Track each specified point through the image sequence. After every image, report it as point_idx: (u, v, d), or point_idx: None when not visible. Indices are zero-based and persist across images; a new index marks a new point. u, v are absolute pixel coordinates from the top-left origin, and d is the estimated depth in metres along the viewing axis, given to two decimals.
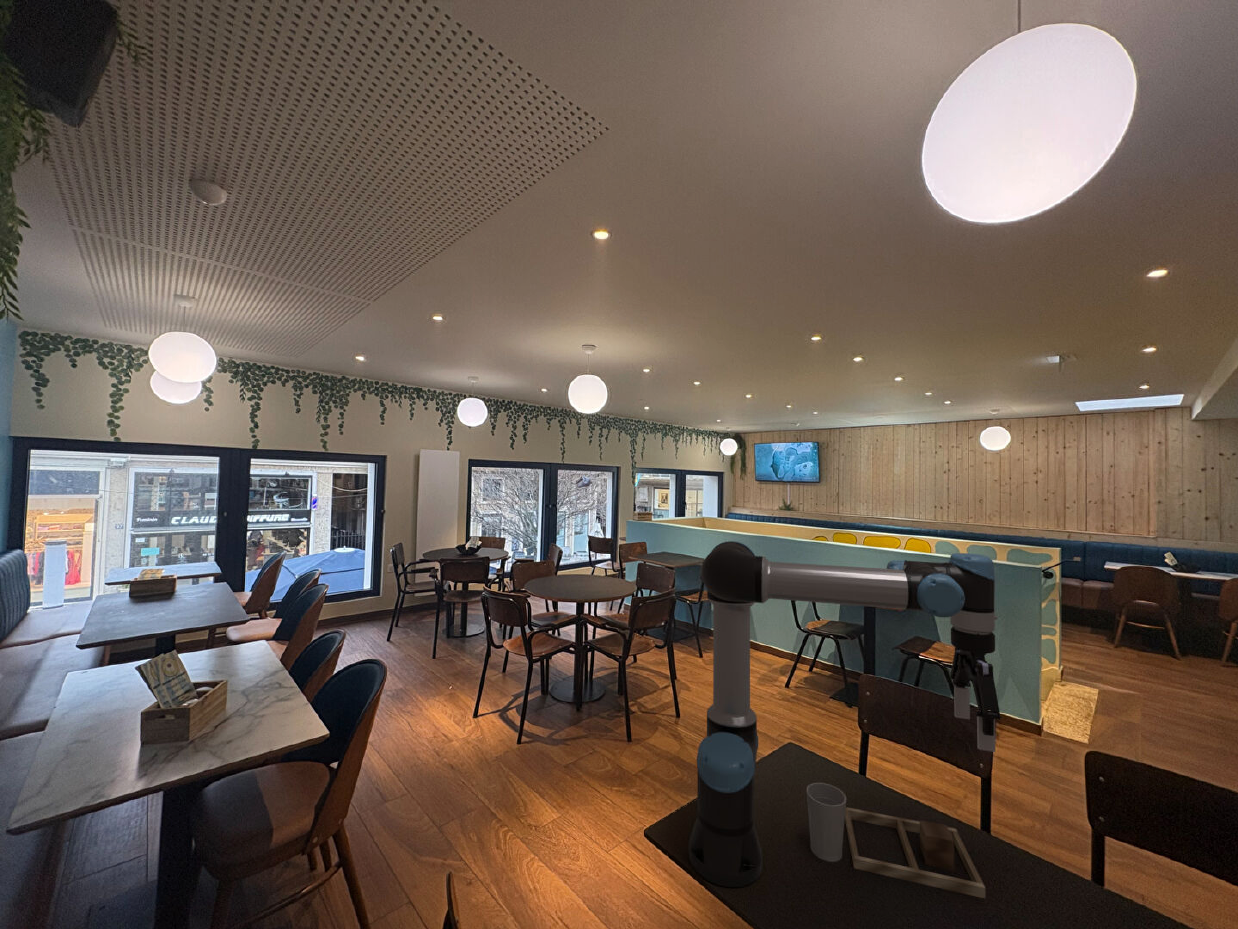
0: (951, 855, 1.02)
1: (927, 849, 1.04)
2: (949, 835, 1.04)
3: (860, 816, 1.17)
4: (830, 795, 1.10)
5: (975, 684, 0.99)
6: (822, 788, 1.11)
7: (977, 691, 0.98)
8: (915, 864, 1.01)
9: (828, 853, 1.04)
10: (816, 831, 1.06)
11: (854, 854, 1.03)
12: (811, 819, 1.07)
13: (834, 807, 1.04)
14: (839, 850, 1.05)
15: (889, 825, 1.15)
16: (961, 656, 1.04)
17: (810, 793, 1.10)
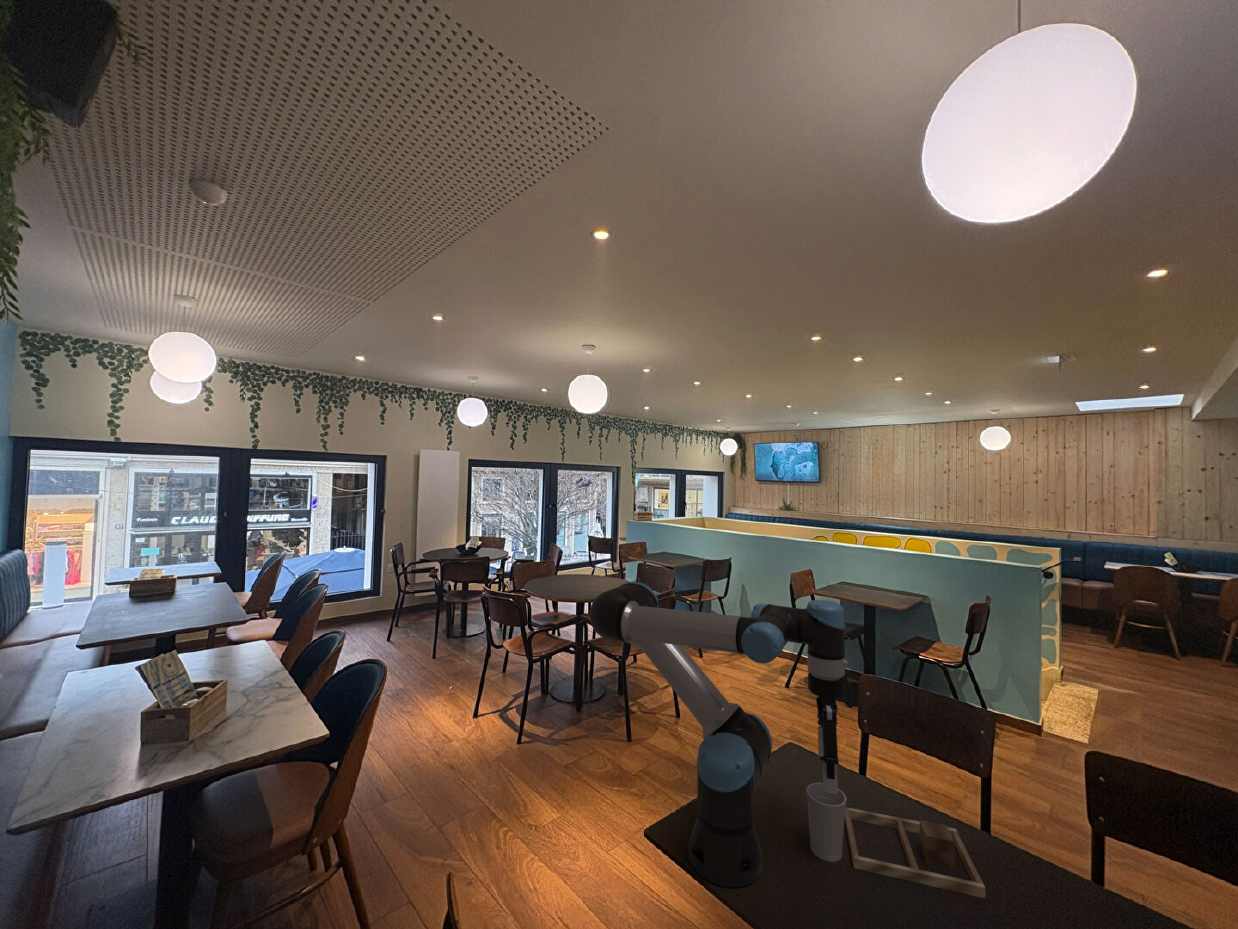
0: (951, 855, 1.02)
1: (927, 849, 1.04)
2: (949, 835, 1.04)
3: (860, 816, 1.17)
4: (830, 795, 1.10)
5: None
6: (822, 788, 1.11)
7: (823, 735, 1.03)
8: (915, 864, 1.01)
9: (828, 853, 1.04)
10: (816, 831, 1.06)
11: (854, 854, 1.03)
12: (811, 819, 1.07)
13: (834, 807, 1.04)
14: (839, 850, 1.05)
15: (889, 825, 1.15)
16: (817, 699, 1.09)
17: (810, 793, 1.10)
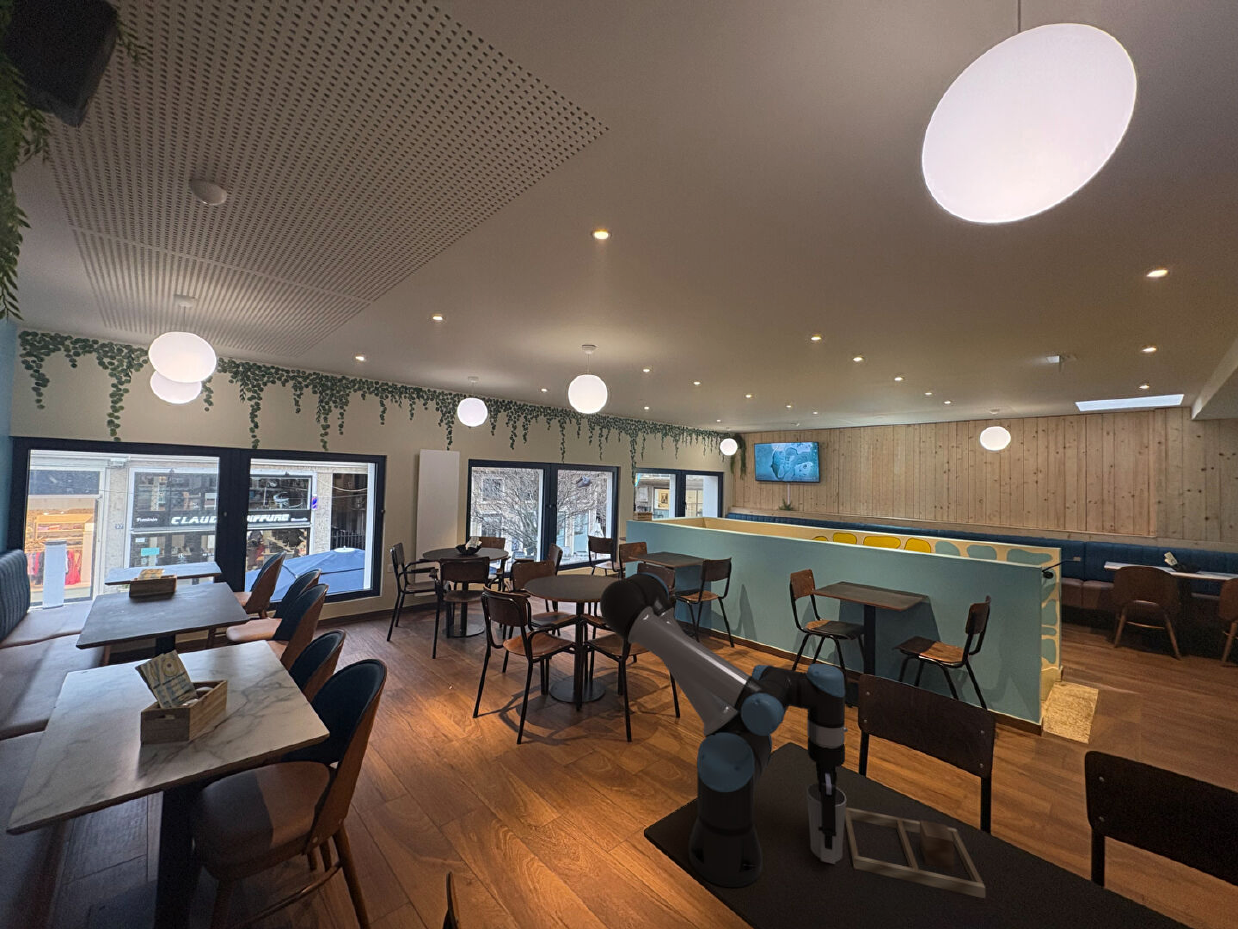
0: (951, 855, 1.02)
1: (927, 849, 1.04)
2: (949, 835, 1.04)
3: (860, 816, 1.17)
4: None
5: None
6: None
7: None
8: (915, 864, 1.01)
9: None
10: (816, 831, 1.06)
11: (854, 854, 1.03)
12: (811, 819, 1.07)
13: None
14: (839, 850, 1.05)
15: (889, 825, 1.15)
16: (817, 764, 1.09)
17: (810, 793, 1.10)
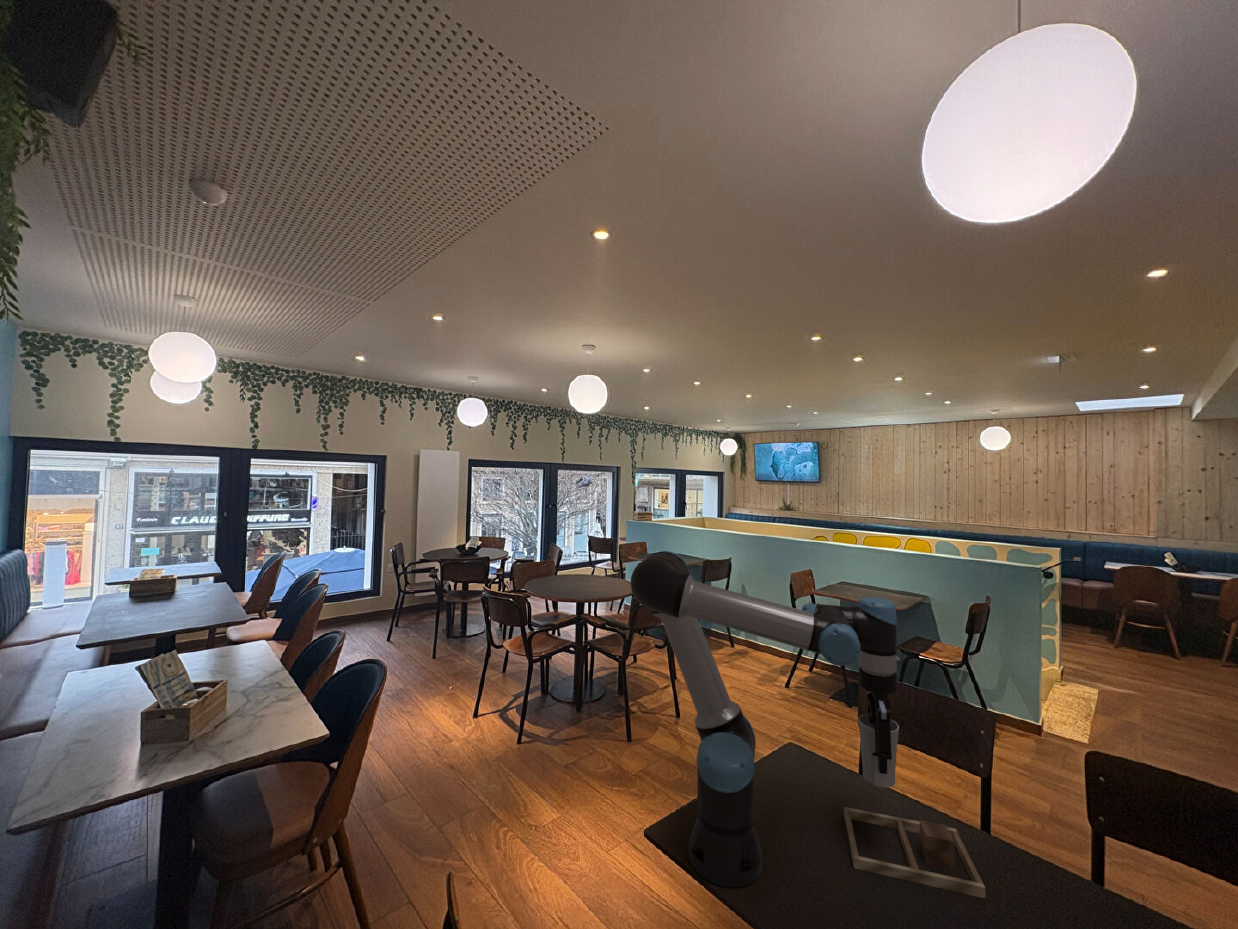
0: (951, 855, 1.02)
1: (927, 849, 1.04)
2: (949, 835, 1.04)
3: (860, 816, 1.17)
4: None
5: (876, 725, 1.06)
6: None
7: (876, 732, 1.06)
8: (915, 864, 1.01)
9: None
10: (869, 758, 1.07)
11: (854, 854, 1.03)
12: (864, 747, 1.08)
13: None
14: (893, 776, 1.06)
15: (889, 825, 1.15)
16: (868, 694, 1.11)
17: (861, 723, 1.12)
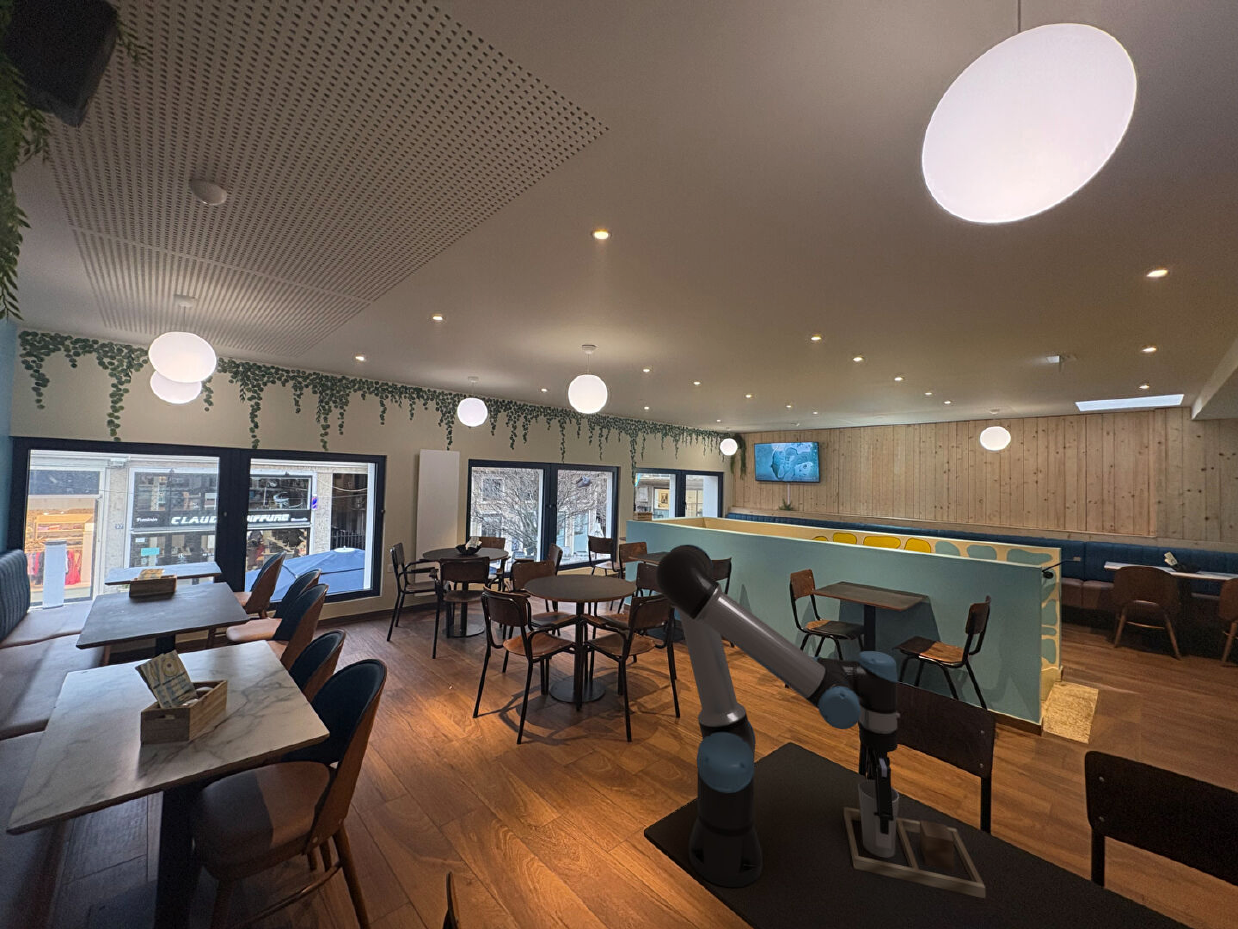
0: (951, 855, 1.02)
1: (927, 849, 1.04)
2: (949, 835, 1.04)
3: (860, 816, 1.17)
4: None
5: (876, 782, 1.05)
6: (873, 784, 1.12)
7: (877, 790, 1.05)
8: (915, 864, 1.01)
9: (882, 849, 1.06)
10: (869, 827, 1.07)
11: (854, 854, 1.03)
12: (864, 815, 1.08)
13: None
14: (892, 846, 1.06)
15: None
16: (868, 750, 1.10)
17: (861, 790, 1.11)
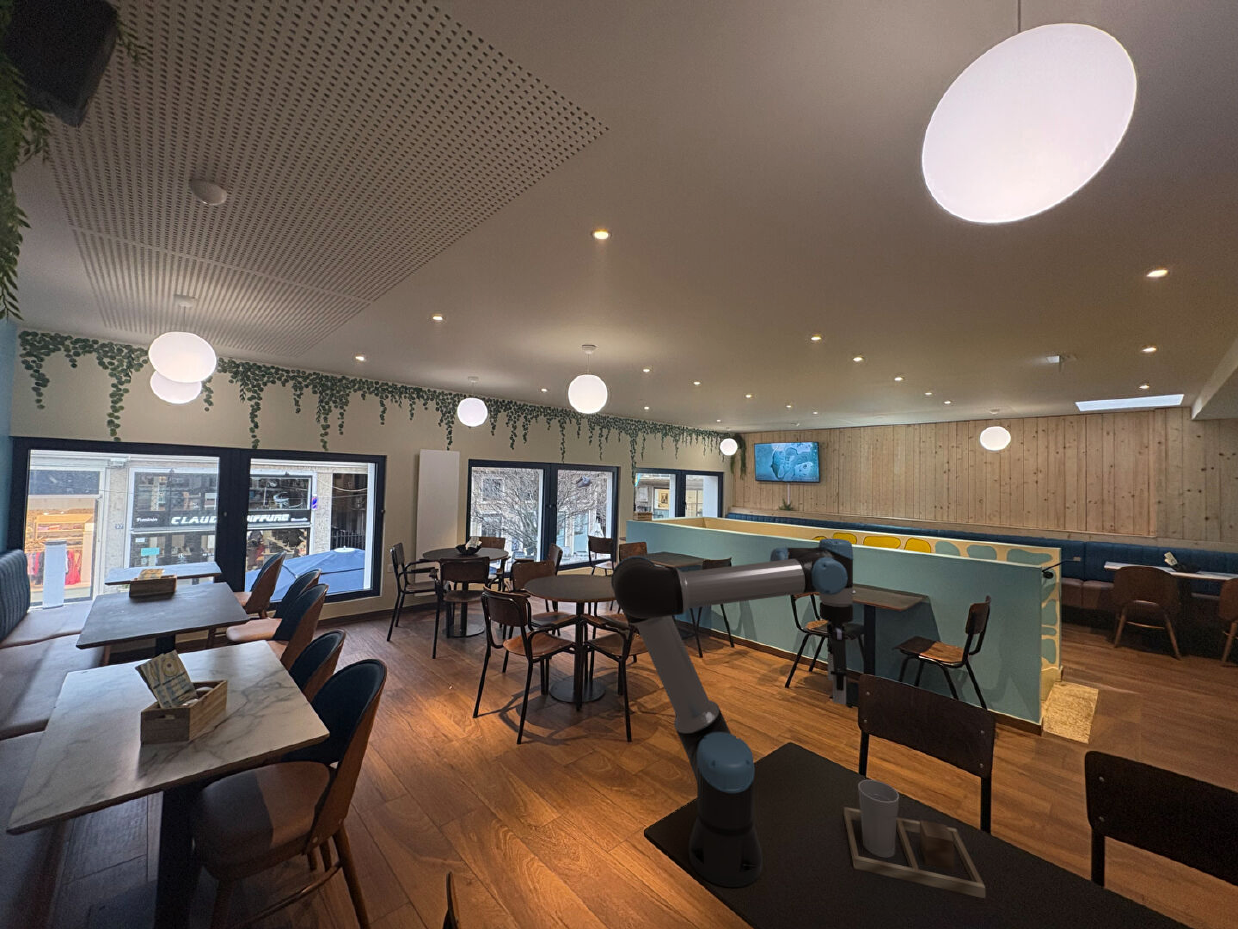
0: (951, 855, 1.02)
1: (927, 849, 1.04)
2: (949, 835, 1.04)
3: (860, 816, 1.17)
4: (881, 792, 1.12)
5: (833, 648, 1.17)
6: (873, 784, 1.12)
7: (834, 654, 1.16)
8: (915, 864, 1.01)
9: (882, 849, 1.06)
10: (869, 827, 1.07)
11: (854, 854, 1.03)
12: (864, 815, 1.08)
13: (888, 803, 1.05)
14: (892, 846, 1.06)
15: None
16: (828, 626, 1.22)
17: (861, 790, 1.11)
